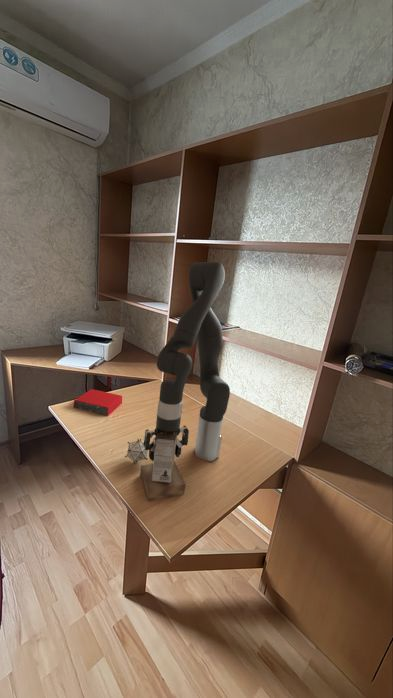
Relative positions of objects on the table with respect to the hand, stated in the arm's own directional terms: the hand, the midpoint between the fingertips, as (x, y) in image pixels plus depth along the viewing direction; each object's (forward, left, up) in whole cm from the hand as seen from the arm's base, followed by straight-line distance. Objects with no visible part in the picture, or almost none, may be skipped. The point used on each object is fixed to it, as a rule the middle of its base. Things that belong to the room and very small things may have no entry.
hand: (164, 457), depth 95 cm
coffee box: (0, 0, -6) cm, 6 cm away
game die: (+6, -13, -11) cm, 18 cm away
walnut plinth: (0, 0, -11) cm, 11 cm away
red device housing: (+16, -59, -11) cm, 62 cm away
